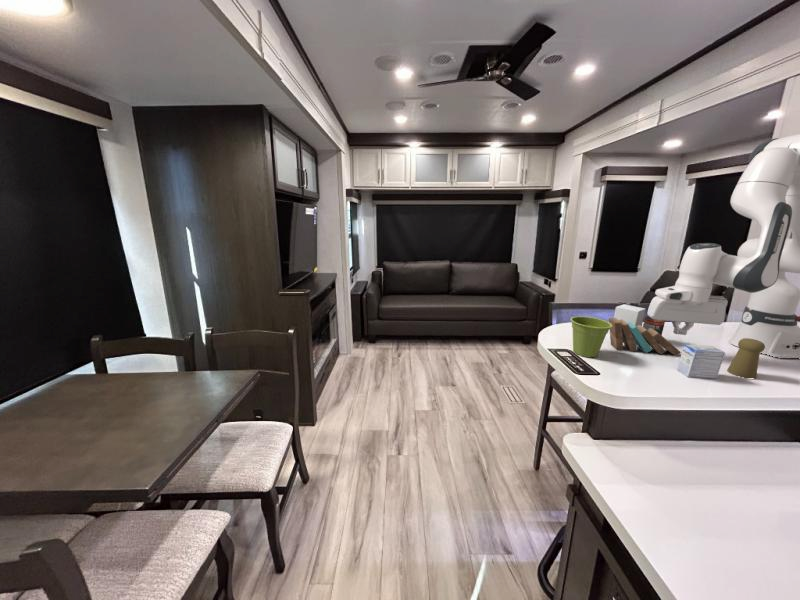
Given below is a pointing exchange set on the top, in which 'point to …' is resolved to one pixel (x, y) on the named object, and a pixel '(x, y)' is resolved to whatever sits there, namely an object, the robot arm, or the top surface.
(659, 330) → the supplement bottle
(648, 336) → the domino
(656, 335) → the domino
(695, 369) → the medicine box
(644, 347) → the domino
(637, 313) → the supplement box
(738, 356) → the cork
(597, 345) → the plant pot
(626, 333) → the domino
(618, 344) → the domino
